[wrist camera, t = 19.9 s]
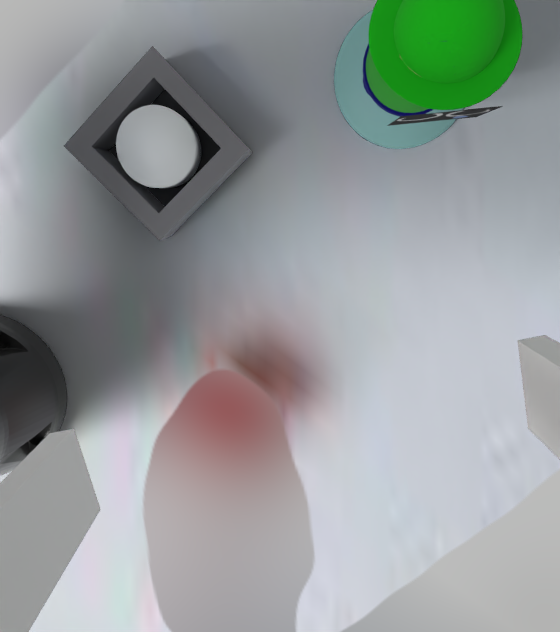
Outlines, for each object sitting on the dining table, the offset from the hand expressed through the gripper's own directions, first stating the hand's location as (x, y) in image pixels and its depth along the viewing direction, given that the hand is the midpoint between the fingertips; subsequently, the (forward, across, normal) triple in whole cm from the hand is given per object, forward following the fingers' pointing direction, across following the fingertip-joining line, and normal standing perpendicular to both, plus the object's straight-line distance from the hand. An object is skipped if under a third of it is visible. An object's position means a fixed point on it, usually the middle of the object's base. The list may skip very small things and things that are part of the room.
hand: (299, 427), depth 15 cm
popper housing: (+32, -8, +12) cm, 35 cm away
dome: (+31, -8, +12) cm, 34 cm away
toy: (+31, +12, +14) cm, 36 cm away
